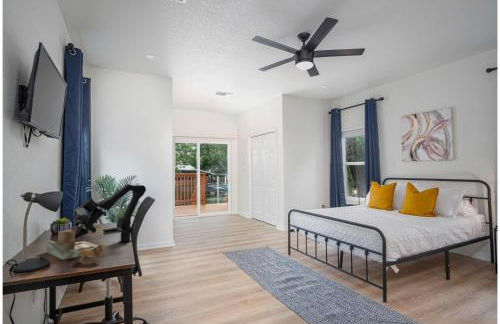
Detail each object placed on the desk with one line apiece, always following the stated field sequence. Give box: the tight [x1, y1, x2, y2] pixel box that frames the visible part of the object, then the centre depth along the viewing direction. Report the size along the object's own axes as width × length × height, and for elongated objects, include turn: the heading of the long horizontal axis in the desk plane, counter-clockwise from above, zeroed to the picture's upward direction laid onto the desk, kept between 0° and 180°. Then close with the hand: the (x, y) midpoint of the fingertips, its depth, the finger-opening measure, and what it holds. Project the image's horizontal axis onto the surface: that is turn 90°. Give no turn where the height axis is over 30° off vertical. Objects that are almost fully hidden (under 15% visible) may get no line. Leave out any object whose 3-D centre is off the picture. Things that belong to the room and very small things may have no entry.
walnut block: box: [57, 229, 76, 251], centre depth 165 cm, size 6×7×10 cm
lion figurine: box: [74, 243, 107, 265], centre depth 150 cm, size 15×5×9 cm, turn 106°
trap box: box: [46, 239, 98, 261], centre depth 168 cm, size 20×22×6 cm
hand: (73, 238), depth 168 cm, fingers closed
